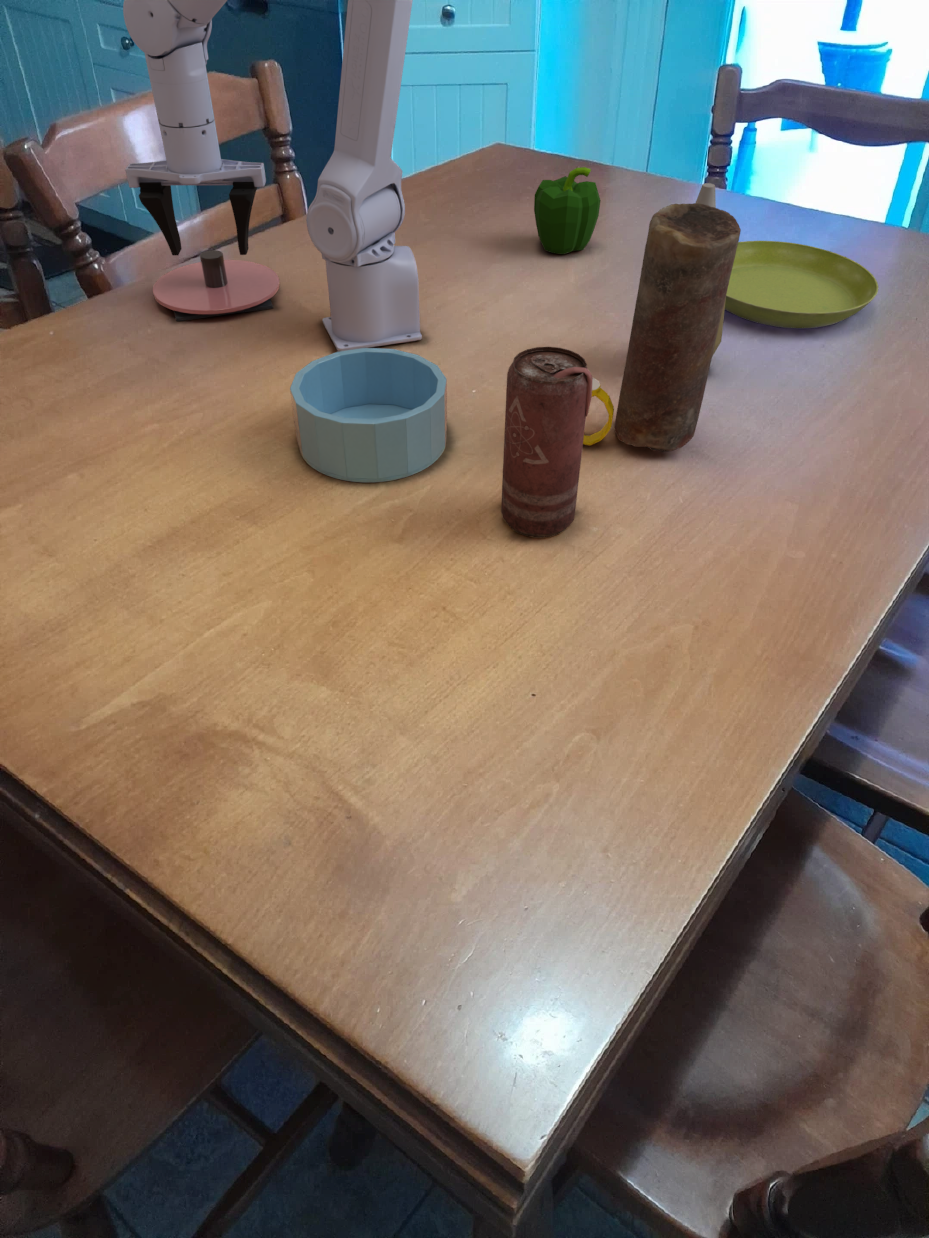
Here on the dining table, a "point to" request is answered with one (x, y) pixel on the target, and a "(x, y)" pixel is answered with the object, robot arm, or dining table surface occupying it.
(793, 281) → the saucer
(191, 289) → the lid
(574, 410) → the can
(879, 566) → the dining table surface
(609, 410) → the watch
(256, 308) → the mat
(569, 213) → the bell pepper
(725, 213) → the candle
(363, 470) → the bowl
